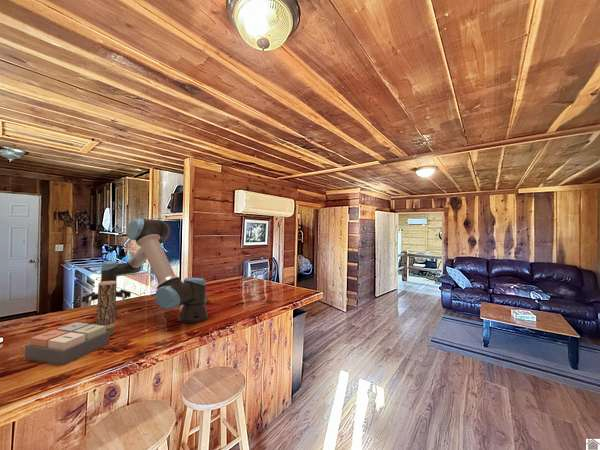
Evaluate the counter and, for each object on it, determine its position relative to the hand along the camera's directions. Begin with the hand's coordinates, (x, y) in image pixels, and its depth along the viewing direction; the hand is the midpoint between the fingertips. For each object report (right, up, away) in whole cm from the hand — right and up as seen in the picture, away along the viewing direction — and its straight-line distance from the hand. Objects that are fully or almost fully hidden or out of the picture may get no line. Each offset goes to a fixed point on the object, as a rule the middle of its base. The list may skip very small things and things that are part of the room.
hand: (107, 300), depth 123 cm
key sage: (+8, -9, -19) cm, 23 cm away
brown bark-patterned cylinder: (+5, -14, -8) cm, 17 cm away
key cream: (+6, -9, -28) cm, 30 cm away
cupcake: (+30, -16, +46) cm, 57 cm away
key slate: (-1, -9, -18) cm, 20 cm away
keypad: (+3, -13, -23) cm, 27 cm away
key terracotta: (-2, -8, -26) cm, 28 cm away
